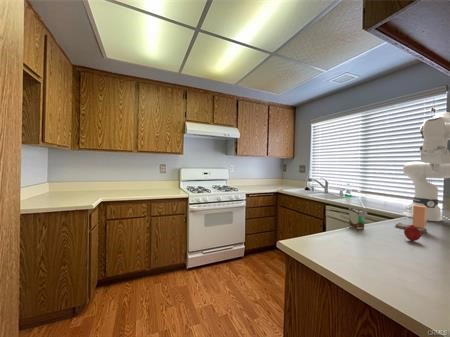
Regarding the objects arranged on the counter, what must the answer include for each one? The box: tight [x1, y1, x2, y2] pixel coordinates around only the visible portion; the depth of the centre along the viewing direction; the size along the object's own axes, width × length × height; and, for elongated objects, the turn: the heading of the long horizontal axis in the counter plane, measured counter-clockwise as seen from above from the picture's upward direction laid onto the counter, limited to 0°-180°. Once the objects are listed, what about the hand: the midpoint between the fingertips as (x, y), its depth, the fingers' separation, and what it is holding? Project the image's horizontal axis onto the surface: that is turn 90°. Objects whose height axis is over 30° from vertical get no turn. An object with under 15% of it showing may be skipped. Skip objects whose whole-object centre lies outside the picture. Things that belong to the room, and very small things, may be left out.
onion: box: [403, 223, 422, 242], centre depth 93 cm, size 6×6×8 cm
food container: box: [348, 206, 368, 231], centre depth 110 cm, size 12×6×10 cm, turn 171°
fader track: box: [394, 222, 428, 234], centre depth 111 cm, size 12×5×2 cm, turn 35°
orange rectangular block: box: [412, 205, 427, 229], centre depth 108 cm, size 4×4×12 cm
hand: (435, 171), depth 113 cm, fingers closed
